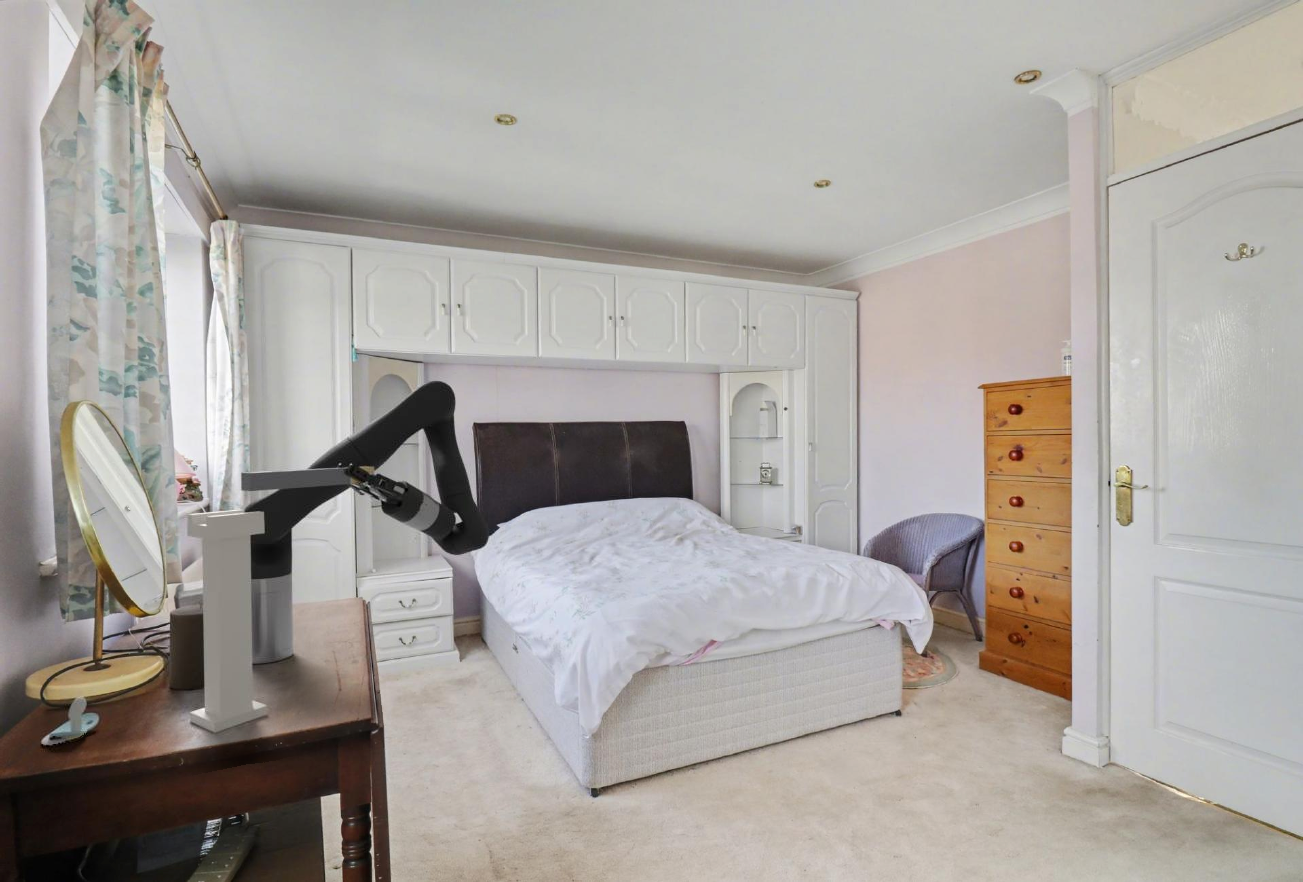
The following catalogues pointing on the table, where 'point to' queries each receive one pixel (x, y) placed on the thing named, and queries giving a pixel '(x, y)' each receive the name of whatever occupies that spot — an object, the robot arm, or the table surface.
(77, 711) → the pacifier
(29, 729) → the table surface
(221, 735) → the table surface
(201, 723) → the stand
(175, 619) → the pillar candle
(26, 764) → the table surface
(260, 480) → the bar
